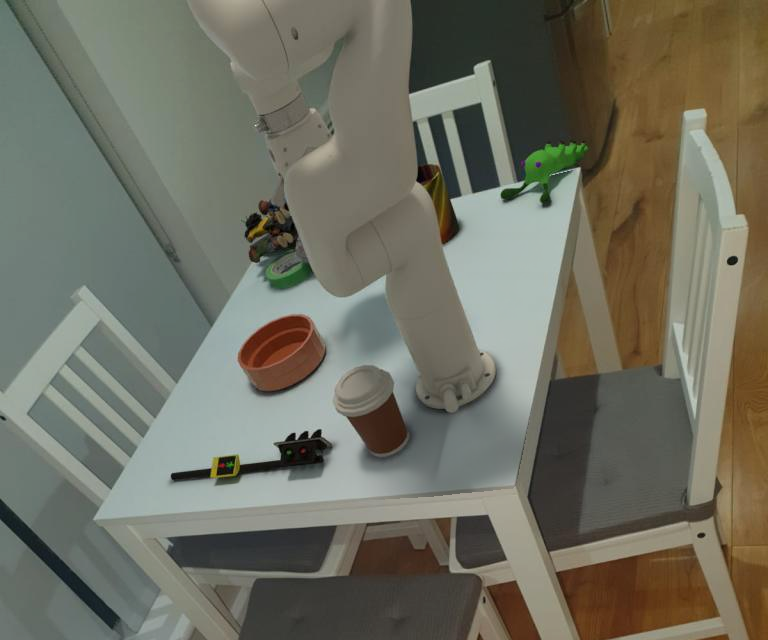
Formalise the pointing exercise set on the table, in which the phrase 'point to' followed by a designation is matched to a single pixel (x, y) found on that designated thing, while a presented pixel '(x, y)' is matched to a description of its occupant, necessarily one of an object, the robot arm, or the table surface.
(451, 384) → the robot arm
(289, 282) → the tape roll
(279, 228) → the doll family
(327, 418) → the table surface
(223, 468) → the miniature traffic light
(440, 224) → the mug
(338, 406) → the cocoa
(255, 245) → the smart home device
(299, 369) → the bowl
